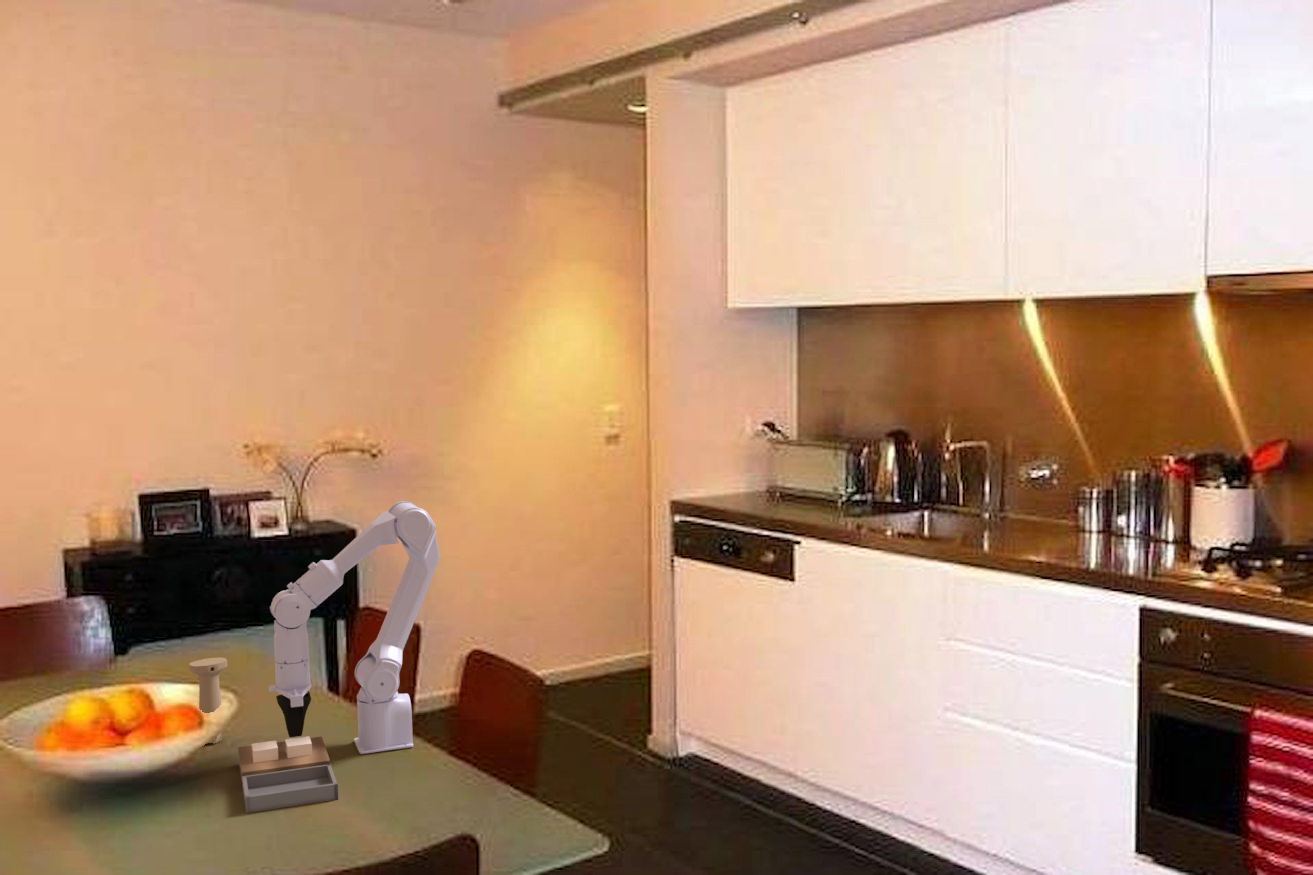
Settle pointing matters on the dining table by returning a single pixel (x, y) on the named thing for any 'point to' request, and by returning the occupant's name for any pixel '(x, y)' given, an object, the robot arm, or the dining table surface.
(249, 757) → the board
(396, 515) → the robot arm
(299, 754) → the tile
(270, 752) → the tile
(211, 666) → the handle
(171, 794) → the dining table surface
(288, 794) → the tray
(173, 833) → the dining table surface
